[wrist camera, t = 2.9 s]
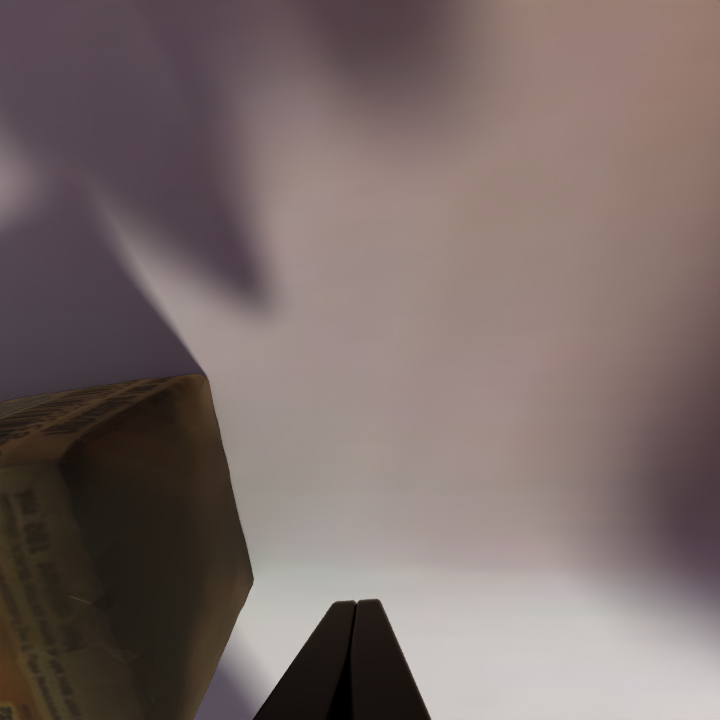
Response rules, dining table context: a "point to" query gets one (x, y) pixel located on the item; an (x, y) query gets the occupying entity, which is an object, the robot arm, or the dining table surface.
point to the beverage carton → (115, 552)
